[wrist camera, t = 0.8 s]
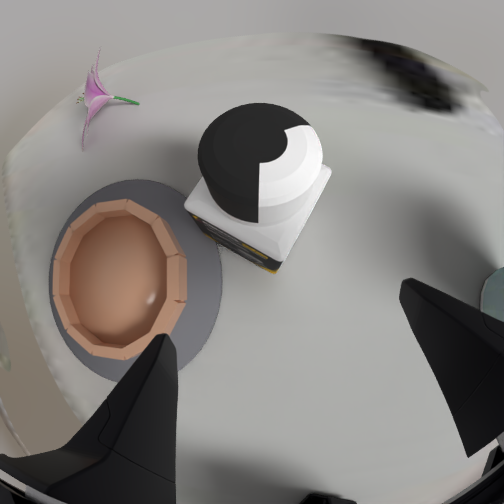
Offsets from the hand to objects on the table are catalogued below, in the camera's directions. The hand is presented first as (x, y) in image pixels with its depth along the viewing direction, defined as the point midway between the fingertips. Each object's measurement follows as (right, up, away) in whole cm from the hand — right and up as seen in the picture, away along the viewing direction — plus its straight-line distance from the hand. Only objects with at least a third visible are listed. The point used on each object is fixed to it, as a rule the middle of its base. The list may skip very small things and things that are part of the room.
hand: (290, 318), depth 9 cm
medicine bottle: (-1, +5, +14) cm, 15 cm away
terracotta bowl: (-14, 0, +14) cm, 20 cm away
